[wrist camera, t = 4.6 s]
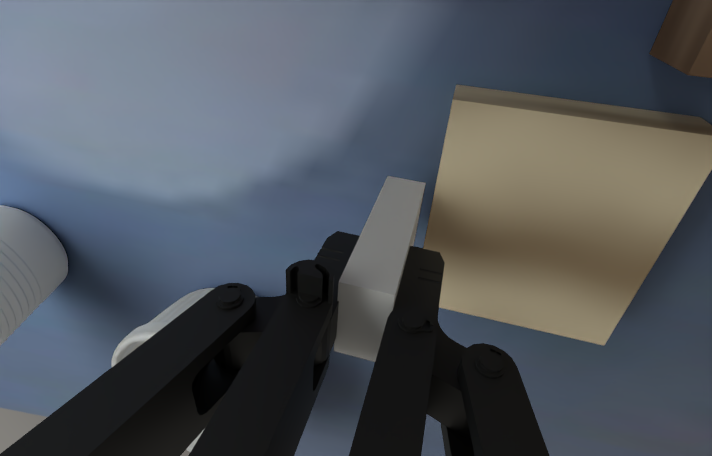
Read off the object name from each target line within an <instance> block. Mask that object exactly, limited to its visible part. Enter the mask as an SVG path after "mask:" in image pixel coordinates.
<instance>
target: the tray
mask: <svg viewBox="0 0 712 456" xmlns="http://www.w3.org/2000/svg"><path fill="white" fill-rule="evenodd" d="M649 54H650V55H652V56H653V57H655V58H657V59H659V60H661V61H663V62H665V63H666V64H668V65H670V66H672V67H674V68H676V69H677V70H679V71H681V72H683V73H685V74H687V75H691V76H699V77H708V78H712V0H673V1H672V4H671V6H670V8H669V10H668V13H667V15H666V17H665V19H664V22H663V24H662V26H661V29H660V31H659V33H658V35H657V38H656V40H655V42H654V44H653V47H652V49H651V51H650V53H649Z"/></svg>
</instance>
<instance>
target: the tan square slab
mask: <svg viewBox="0 0 712 456" xmlns="http://www.w3.org/2000/svg"><path fill="white" fill-rule="evenodd" d="M711 170H712V125H711V124H709V123H708V122H707V121H705V120H704V119H702V118H701V117H696V116H689V115H681V114H674V113H666V112H659V111H651V110H644V109H636V108H629V107H621V106H614V105H606V104H599V103H591V102H584V101H576V100H569V99H562V98H554V97H547V96H539V95H532V94H524V93H517V92H509V91H502V90H494V89H487V88H479V87H472V86H464V85H457V84H456V88H455V92H454V96H453V101H452V106H451V111H450V116H449V121H448V126H447V131H446V136H445V141H444V146H443V151H442V156H441V161H440V166H439V171H438V176H437V181H436V186H435V191H434V196H433V201H432V206H431V211H430V216H429V222H428V227H427V232H426V237H425V242H424V247H423V249H427V250H432V251H437V252H440V254H441V256H442V258H443V260H444V262H445V265H444V272H443V280H442V287H441V294H440V302H439V307H440V308H444V309H448V310H453V311H457V312H461V313H466V314H470V315H474V316H479V317H483V318H487V319H491V320H496V321H500V322H504V323H509V324H513V325H517V326H522V327H526V328H530V329H535V330H539V331H543V332H548V333H552V334H556V335H561V336H565V337H569V338H574V339H578V340H582V341H587V342H591V343H595V344H600V345H605V343H606V342H607V340H608V338H609V337H610V335H611V334H612V332H613V330H614V329H615V327H616V325H617V324H618V322H619V320H620V319H621V317H622V316H623V314H624V312H625V311H626V309H627V307H628V306H629V304H630V302H631V301H632V299H633V298H634V296H635V294H636V293H637V291H638V289H639V288H640V286H641V284H642V283H643V281H644V280H645V278H646V276H647V275H648V273H649V271H650V270H651V268H652V266H653V265H654V263H655V262H656V260H657V258H658V257H659V255H660V253H661V252H662V250H663V248H664V247H665V245H666V244H667V242H668V240H669V239H670V237H671V235H672V234H673V232H674V230H675V229H676V227H677V226H678V224H679V222H680V221H681V219H682V217H683V216H684V214H685V212H686V211H687V209H688V208H689V206H690V204H691V203H692V201H693V199H694V198H695V196H696V194H697V193H698V191H699V190H700V188H701V186H702V185H703V183H704V181H705V180H706V178H707V176H708V175H709V173H710V172H711Z"/></svg>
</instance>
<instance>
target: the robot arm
mask: <svg viewBox="0 0 712 456" xmlns="http://www.w3.org/2000/svg"><path fill="white" fill-rule="evenodd" d="M425 184H426V183H423V182H418V181H413V180H407V179H402V178H397V177H391V176H387V178H386V181H385V183H384V185H383V187H382V189H381V191H380V194H379V196H378V198H377V200H376V202H375V204H374V206H373V209H372V211H371V213H370V215H369V217H368V219H367V222H366V224H365V226H364V228H363V230H362V232H361V235H360V236H358V235H353V234H348V233H344V232H339V231H337V232H335V233H334V234H332V235H331V236H329V237H328V238H327V239H326V241H325V243H324V244H323V246H322V249H320V251H319V253H318V255H317V257H316V258H315V260H303V261H298V262H296V263H294V264H292V265H290V266H289V267H288V268H287V269H286V294H285V295H282V296H277V297H255V294H254V292H253V290H252V289H251V288H249V287H248V286H247V285H243V284H240V283H228V284H224V285H220V286H218V287H216V288H215V289H213V290H211V291H210V292H209V293H207V294H206V295H205V296H203V297H202V298H201V299H200V300H198V301H197V302H196V303H194V304H193V305H192V306H191V307H189V308H188V309H187V310H185V311H184V312H183V313H181V314H180V315H179V316H178V317H176V318H175V319H174V320H172V321H171V322H170V323H169V324H167V325H166V326H165V327H163V328H162V329H161V330H160V331H158V332H157V333H156V334H154V335H153V336H152V337H151V338H149V339H148V340H147V341H145V342H144V343H143V344H142V345H140V346H139V347H138V348H136V349H135V350H134V351H132V352H131V353H130V354H129V355H127V356H126V357H125V358H123V359H122V360H121V361H120V362H118V363H117V364H116V365H114V366H113V367H112V368H111V369H109V370H108V371H107V372H105V373H104V374H103V375H102V376H100V377H99V378H98V379H96V380H95V381H94V382H92V383H91V384H90V385H89V386H87V387H86V388H85V389H83V390H82V391H81V392H80V393H78V394H77V395H76V396H74V397H73V398H72V399H71V400H69V401H68V402H67V403H65V404H64V405H63V406H62V407H60V408H59V409H58V410H56V411H55V412H54V413H52V414H51V415H50V416H49V417H47V418H46V419H45V420H43V421H42V422H41V423H40V424H38V425H37V426H36V427H34V428H33V429H32V430H31V431H29V432H28V433H27V434H25V435H24V436H23V437H22V438H21V439H19V440H18V441H17V442H15V443H14V444H12V445H11V446H10V447H9V448H7V449H6V450H5V451H3V452H2V453H1V454H0V456H180V455H181V454H182V453H183V452H184V451H185V450H186V449H187V448H188V447H189V445H190V444H191V443H192V442H193V441H194V440H195V439H196V438H197V437H198V436H199V434H200V433H201V432H202V431H203V430H204V431H203V432H202V434H201V436H200V437H199V439H198V441H197V442H196V444H195V446H194V447H193V449H192V451H191V452H190V454H189V456H294V454H295V451H296V449H297V446H298V444H299V441H300V438H301V436H302V433H303V431H304V428H305V426H306V423H307V420H308V418H309V415H310V413H311V410H312V407H313V405H314V402H315V400H316V397H317V394H318V392H319V389H320V387H321V384H322V382H323V379H324V376H325V374H326V371H327V369H328V365H329V356H330V351H331V349H332V346H333V344H334V351H336V352H340V353H343V354H347V355H351V356H355V357H358V358H362V359H366V360H369V361H373V362H375V365H374V368H373V372H372V375H371V379H370V382H369V386H368V390H367V393H366V397H365V400H364V404H363V407H362V411H361V415H360V418H359V422H358V425H357V429H356V432H355V436H354V440H353V443H352V447H351V450H350V454H349V456H421V451H422V444H423V436H424V429H425V421H426V414H428V415H430V416H431V417H433V418H434V419H436V420H437V421H439V422H441V429H442V435H443V442H444V448H445V455H446V456H549V453H548V451H547V448H546V445H545V442H544V440H543V437H542V434H541V431H540V429H539V426H538V423H537V420H536V418H535V415H534V412H533V409H532V407H531V404H530V401H529V398H528V395H527V393H526V390H525V387H524V384H523V382H522V379H521V376H520V373H519V371H518V368H517V366H516V364H515V363H514V361H513V359H512V358H511V357H510V356H509V355H508V354H507V353H506V352H504V351H503V350H501V349H499V348H497V347H495V346H493V345H488V344H484V343H482V344H473V345H472V346H470V347H468V348H466V347H464V346H462V345H460V344H458V343H456V342H455V341H453V340H452V339H450V338H449V337H448V336H447V335H446V334H445V333H444V332H443V331H442V329H441V328H440V326H439V323H438V309H439V302H440V294H441V287H442V280H443V272H444V265H445V262H444V260H443V258H442V256H441V254H440V252H437V251H432V250H427V249H423V248H418V247H413V245H414V241H415V236H416V231H417V225H418V220H419V215H420V210H421V205H422V200H423V194H424V189H425ZM334 341H335V342H334Z"/></svg>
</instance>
